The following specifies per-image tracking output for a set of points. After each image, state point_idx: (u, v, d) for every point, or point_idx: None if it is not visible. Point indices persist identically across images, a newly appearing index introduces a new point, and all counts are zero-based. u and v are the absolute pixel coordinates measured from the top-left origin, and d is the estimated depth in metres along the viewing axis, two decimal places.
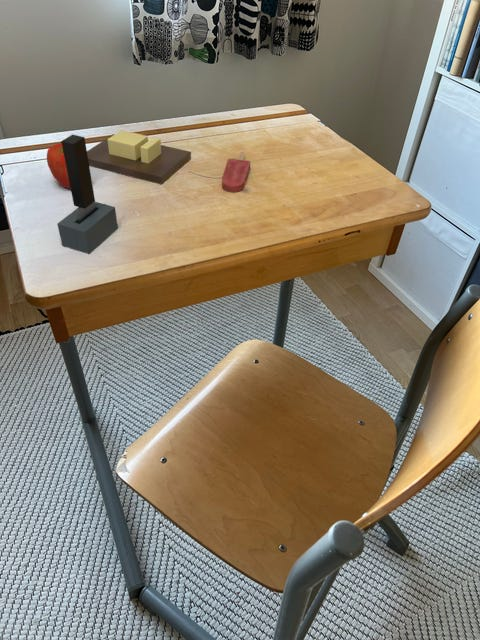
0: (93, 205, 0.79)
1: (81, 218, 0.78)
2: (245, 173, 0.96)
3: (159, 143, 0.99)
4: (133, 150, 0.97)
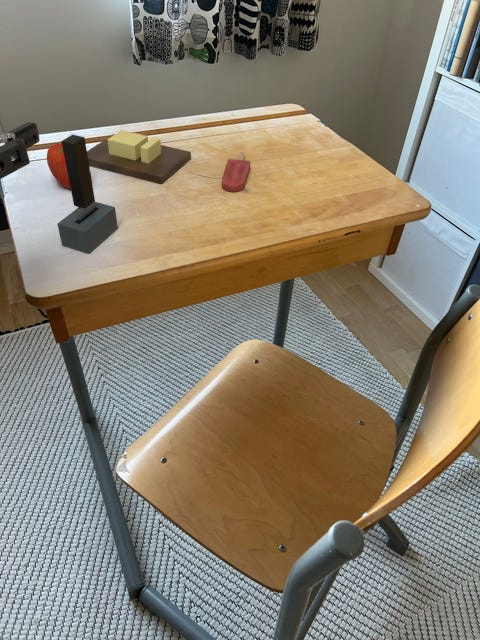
0: (93, 205, 0.79)
1: (81, 218, 0.78)
2: (245, 173, 0.96)
3: (159, 143, 0.99)
4: (133, 150, 0.97)
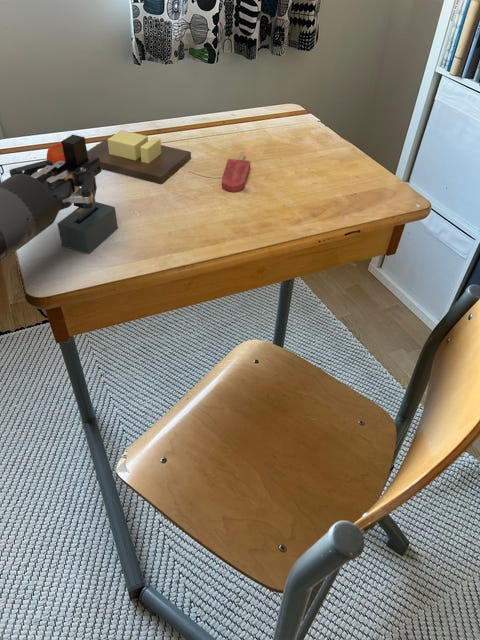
0: (93, 205, 0.79)
1: (82, 219, 0.78)
2: (245, 173, 0.96)
3: (159, 143, 0.99)
4: (133, 150, 0.97)
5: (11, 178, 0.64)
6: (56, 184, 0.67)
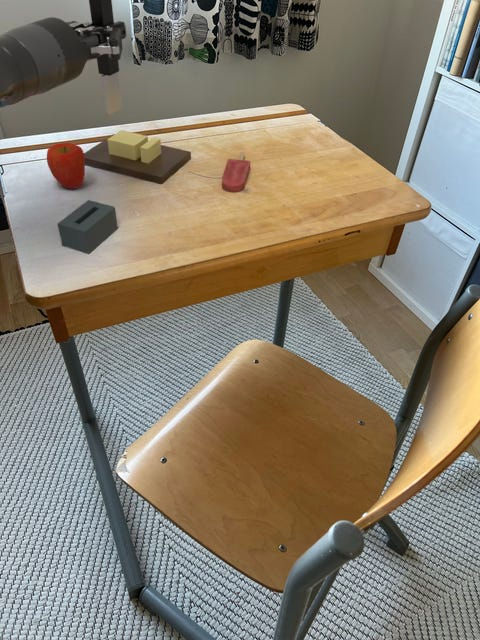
0: (117, 77, 0.80)
1: (106, 88, 0.79)
2: (245, 173, 0.96)
3: (159, 143, 0.99)
4: (133, 150, 0.97)
5: (42, 19, 0.65)
6: (84, 34, 0.68)
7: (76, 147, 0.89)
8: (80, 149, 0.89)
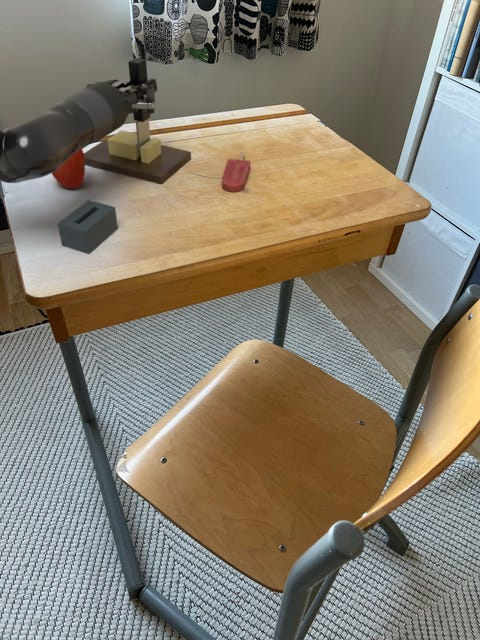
0: (148, 122, 0.97)
1: (139, 131, 0.95)
2: (245, 173, 0.96)
3: (159, 143, 0.99)
4: (133, 150, 0.97)
5: (94, 84, 0.81)
6: (126, 93, 0.85)
7: None
8: None
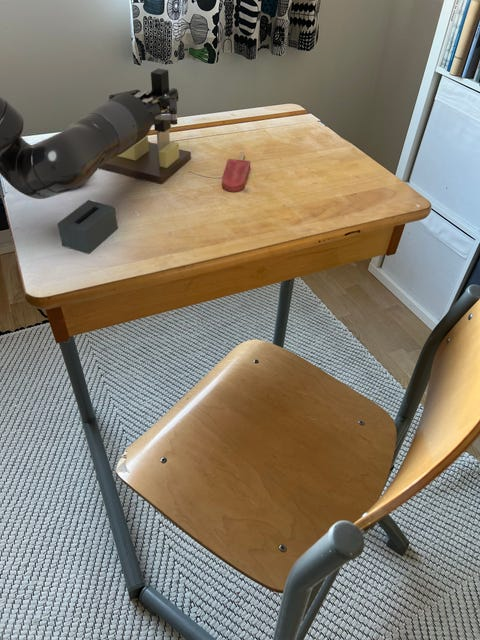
0: (168, 132, 0.96)
1: (160, 141, 0.95)
2: (245, 173, 0.96)
3: (177, 147, 0.98)
4: (133, 150, 0.97)
5: (118, 96, 0.81)
6: (149, 104, 0.84)
7: None
8: None
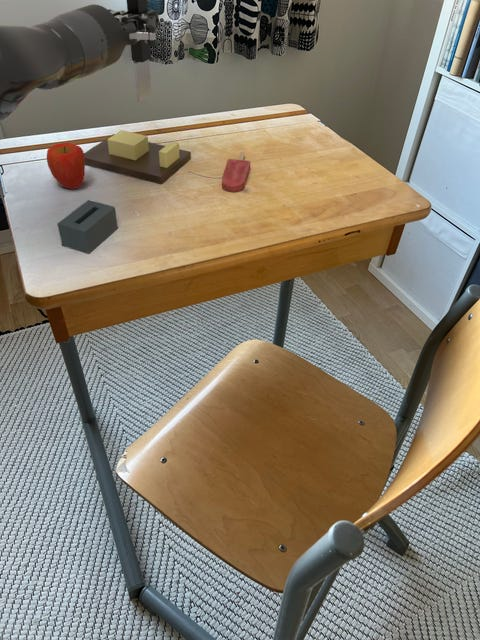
0: (148, 64, 0.84)
1: (138, 74, 0.82)
2: (245, 173, 0.96)
3: (177, 147, 0.98)
4: (133, 150, 0.97)
5: (85, 6, 0.68)
6: (123, 21, 0.72)
7: (76, 147, 0.89)
8: (80, 149, 0.89)
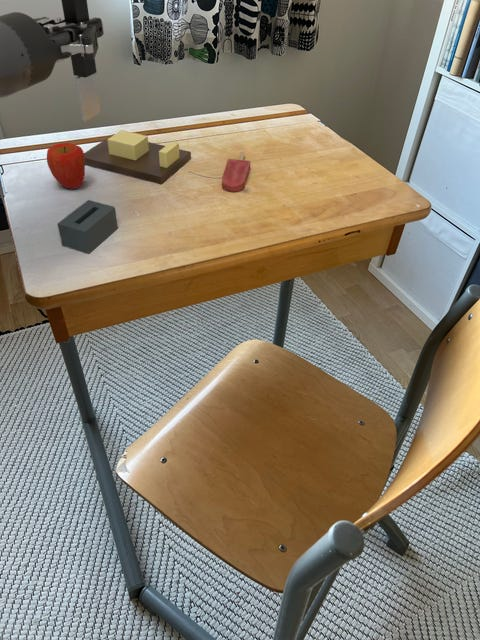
0: (94, 79, 0.73)
1: (82, 91, 0.72)
2: (245, 173, 0.96)
3: (177, 147, 0.98)
4: (133, 150, 0.97)
5: None
6: (54, 31, 0.62)
7: (76, 147, 0.89)
8: (80, 149, 0.89)
